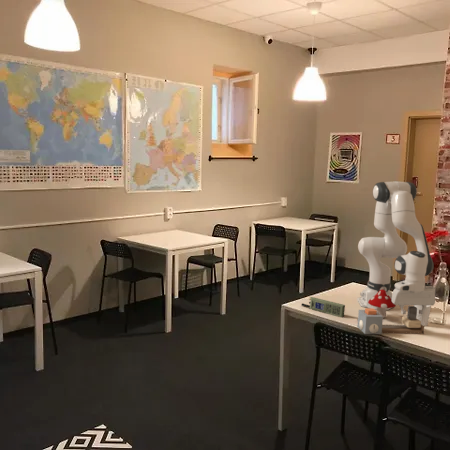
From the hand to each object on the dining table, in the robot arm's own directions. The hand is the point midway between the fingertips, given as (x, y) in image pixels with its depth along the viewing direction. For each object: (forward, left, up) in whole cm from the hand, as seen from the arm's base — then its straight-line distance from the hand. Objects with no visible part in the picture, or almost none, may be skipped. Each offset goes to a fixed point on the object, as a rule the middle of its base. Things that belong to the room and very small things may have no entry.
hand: (412, 313), depth 233 cm
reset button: (0, -21, -1) cm, 21 cm away
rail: (0, -6, -8) cm, 10 cm away
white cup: (-10, +10, -9) cm, 17 cm away
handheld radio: (-28, -35, -9) cm, 46 cm away
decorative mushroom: (-19, -7, -9) cm, 22 cm away
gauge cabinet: (0, -20, -8) cm, 22 cm away
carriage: (0, 0, -6) cm, 6 cm away
